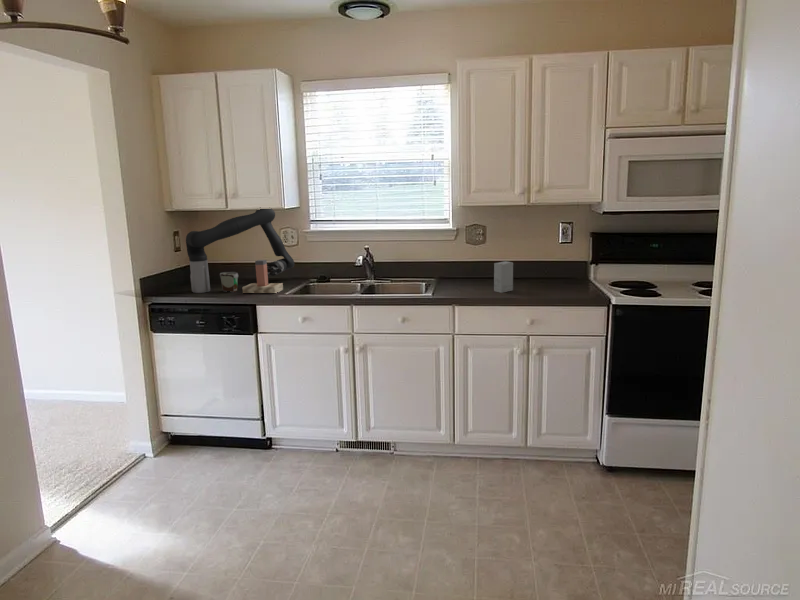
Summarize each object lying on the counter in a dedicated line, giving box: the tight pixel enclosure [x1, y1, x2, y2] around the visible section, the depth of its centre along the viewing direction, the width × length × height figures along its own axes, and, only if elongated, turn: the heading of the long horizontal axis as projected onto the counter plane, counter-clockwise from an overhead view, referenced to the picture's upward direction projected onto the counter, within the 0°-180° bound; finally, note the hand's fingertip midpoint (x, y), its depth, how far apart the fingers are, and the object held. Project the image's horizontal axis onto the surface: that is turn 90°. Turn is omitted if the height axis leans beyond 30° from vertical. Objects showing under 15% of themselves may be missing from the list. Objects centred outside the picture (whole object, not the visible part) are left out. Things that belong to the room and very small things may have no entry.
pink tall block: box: [254, 259, 269, 286], centre depth 302 cm, size 4×4×17 cm
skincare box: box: [493, 260, 514, 294], centre depth 285 cm, size 8×6×15 cm
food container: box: [219, 271, 239, 293], centre depth 309 cm, size 12×6×10 cm, turn 56°
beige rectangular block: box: [242, 282, 284, 294], centre depth 304 cm, size 18×12×4 cm, turn 81°
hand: (264, 272), depth 306 cm, fingers open, 8 cm apart
